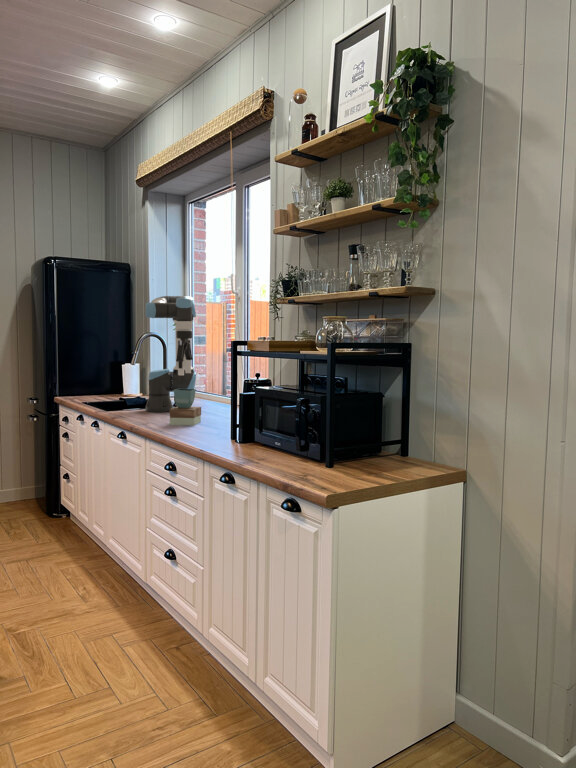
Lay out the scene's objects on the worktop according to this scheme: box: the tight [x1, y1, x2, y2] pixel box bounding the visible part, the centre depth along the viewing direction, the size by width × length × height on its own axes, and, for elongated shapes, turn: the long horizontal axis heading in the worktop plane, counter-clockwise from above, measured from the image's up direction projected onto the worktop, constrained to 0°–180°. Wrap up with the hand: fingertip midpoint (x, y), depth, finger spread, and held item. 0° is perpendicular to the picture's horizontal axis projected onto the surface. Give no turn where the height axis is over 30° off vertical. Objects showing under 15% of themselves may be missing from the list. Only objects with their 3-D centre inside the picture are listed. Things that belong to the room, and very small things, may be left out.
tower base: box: [169, 414, 202, 426], centre depth 285 cm, size 12×12×4 cm
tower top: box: [169, 406, 202, 419], centre depth 285 cm, size 12×12×4 cm
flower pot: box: [173, 388, 196, 408], centre depth 285 cm, size 9×9×9 cm
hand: (184, 374), depth 284 cm, fingers open, 13 cm apart
